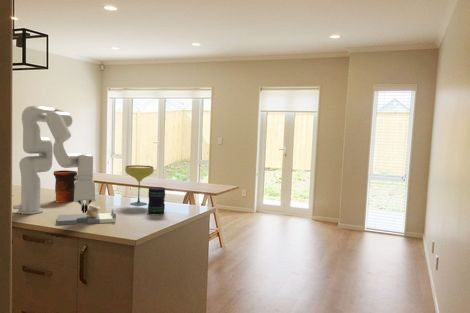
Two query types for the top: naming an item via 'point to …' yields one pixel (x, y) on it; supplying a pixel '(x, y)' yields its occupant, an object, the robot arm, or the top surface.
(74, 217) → the trap board
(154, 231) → the top surface
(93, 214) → the maple block
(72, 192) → the vessel
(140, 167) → the cocktail glass
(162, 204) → the storage jar
